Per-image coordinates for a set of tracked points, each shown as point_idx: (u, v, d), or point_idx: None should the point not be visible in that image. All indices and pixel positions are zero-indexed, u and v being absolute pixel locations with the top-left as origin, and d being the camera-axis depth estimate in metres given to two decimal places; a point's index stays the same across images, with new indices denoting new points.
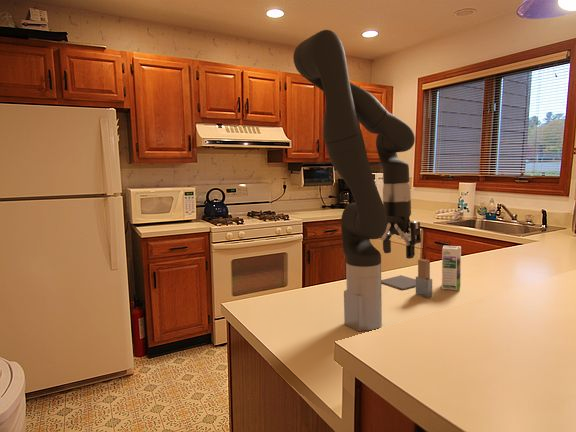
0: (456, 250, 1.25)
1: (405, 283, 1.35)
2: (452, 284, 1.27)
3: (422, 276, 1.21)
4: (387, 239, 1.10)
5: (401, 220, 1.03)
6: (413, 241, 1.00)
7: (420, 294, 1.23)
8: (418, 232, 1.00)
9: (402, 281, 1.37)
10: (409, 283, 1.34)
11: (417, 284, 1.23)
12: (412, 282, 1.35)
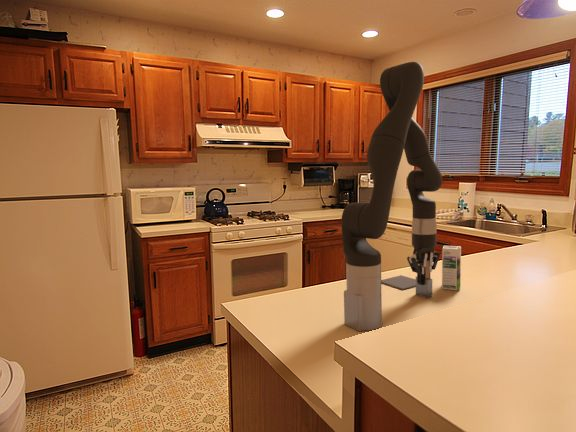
0: (456, 250, 1.25)
1: (405, 283, 1.35)
2: (452, 284, 1.27)
3: None
4: None
5: (432, 248, 1.21)
6: (434, 267, 1.23)
7: (420, 294, 1.23)
8: None
9: (402, 281, 1.37)
10: (409, 283, 1.34)
11: (417, 284, 1.23)
12: (412, 282, 1.35)
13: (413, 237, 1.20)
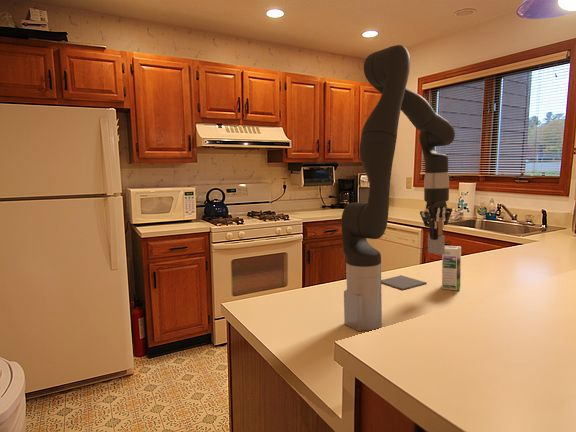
0: (456, 250, 1.25)
1: (405, 283, 1.35)
2: (452, 284, 1.27)
3: None
4: None
5: (444, 203, 1.23)
6: (447, 223, 1.24)
7: (432, 251, 1.24)
8: None
9: (402, 281, 1.37)
10: (409, 283, 1.34)
11: (429, 242, 1.25)
12: (412, 282, 1.35)
13: (426, 192, 1.21)
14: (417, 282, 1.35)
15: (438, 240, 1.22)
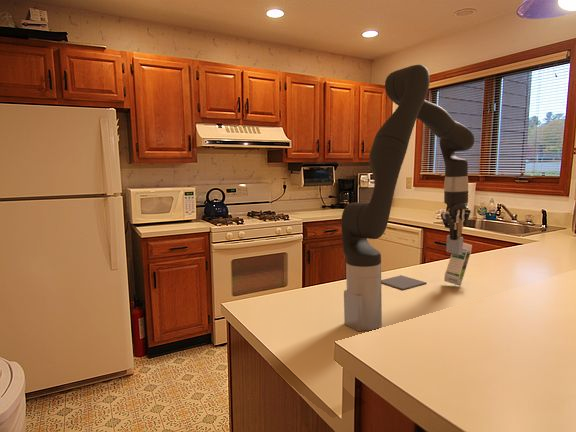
0: (468, 245, 1.32)
1: (405, 283, 1.35)
2: (456, 272, 1.28)
3: None
4: None
5: (463, 205, 1.29)
6: (465, 223, 1.30)
7: (451, 251, 1.31)
8: None
9: (402, 281, 1.37)
10: (409, 283, 1.34)
11: (448, 242, 1.32)
12: (412, 282, 1.35)
13: (446, 195, 1.27)
14: (417, 282, 1.35)
15: (457, 241, 1.28)
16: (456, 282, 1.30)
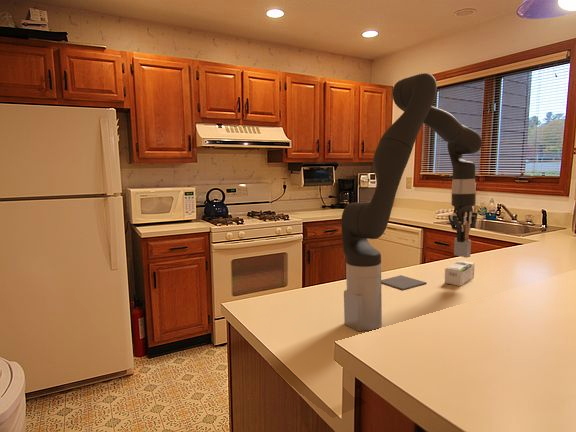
0: (470, 262, 1.41)
1: (405, 283, 1.35)
2: (456, 268, 1.33)
3: None
4: None
5: (470, 207, 1.30)
6: (472, 226, 1.31)
7: (458, 254, 1.32)
8: None
9: (402, 281, 1.37)
10: (409, 283, 1.34)
11: (456, 245, 1.32)
12: (412, 282, 1.35)
13: (453, 197, 1.28)
14: (417, 282, 1.35)
15: (465, 244, 1.29)
16: (456, 278, 1.32)
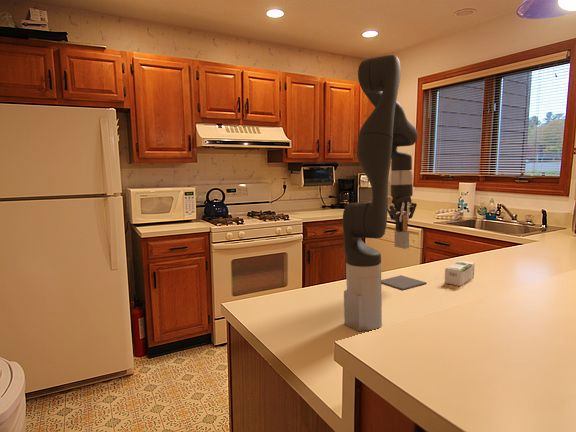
0: (470, 262, 1.41)
1: (405, 283, 1.35)
2: (456, 268, 1.33)
3: None
4: None
5: (408, 198, 1.34)
6: (411, 216, 1.35)
7: (398, 246, 1.36)
8: None
9: (402, 281, 1.37)
10: (409, 283, 1.34)
11: (396, 237, 1.36)
12: (412, 282, 1.35)
13: (391, 188, 1.32)
14: (417, 282, 1.35)
15: (403, 235, 1.33)
16: (456, 278, 1.32)
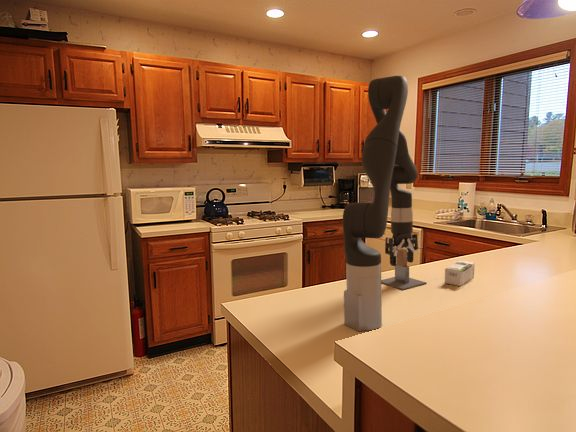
0: (470, 262, 1.41)
1: None
2: (456, 268, 1.33)
3: (400, 264, 1.36)
4: None
5: (409, 234, 1.36)
6: (417, 247, 1.38)
7: (398, 280, 1.37)
8: None
9: None
10: (409, 283, 1.34)
11: (396, 271, 1.38)
12: (412, 282, 1.35)
13: (392, 225, 1.34)
14: (417, 282, 1.35)
15: (403, 270, 1.35)
16: (456, 278, 1.32)
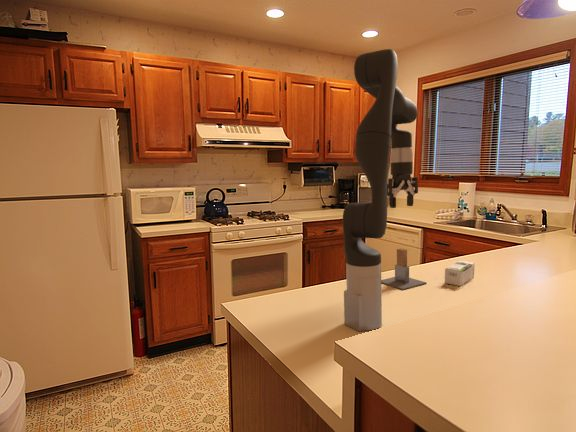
0: (470, 262, 1.41)
1: None
2: (456, 268, 1.33)
3: (400, 264, 1.36)
4: None
5: (408, 176, 1.33)
6: (417, 191, 1.36)
7: (398, 280, 1.37)
8: None
9: None
10: (409, 283, 1.34)
11: (396, 271, 1.38)
12: (412, 282, 1.35)
13: (391, 166, 1.32)
14: (417, 282, 1.35)
15: (403, 270, 1.35)
16: (456, 278, 1.32)
